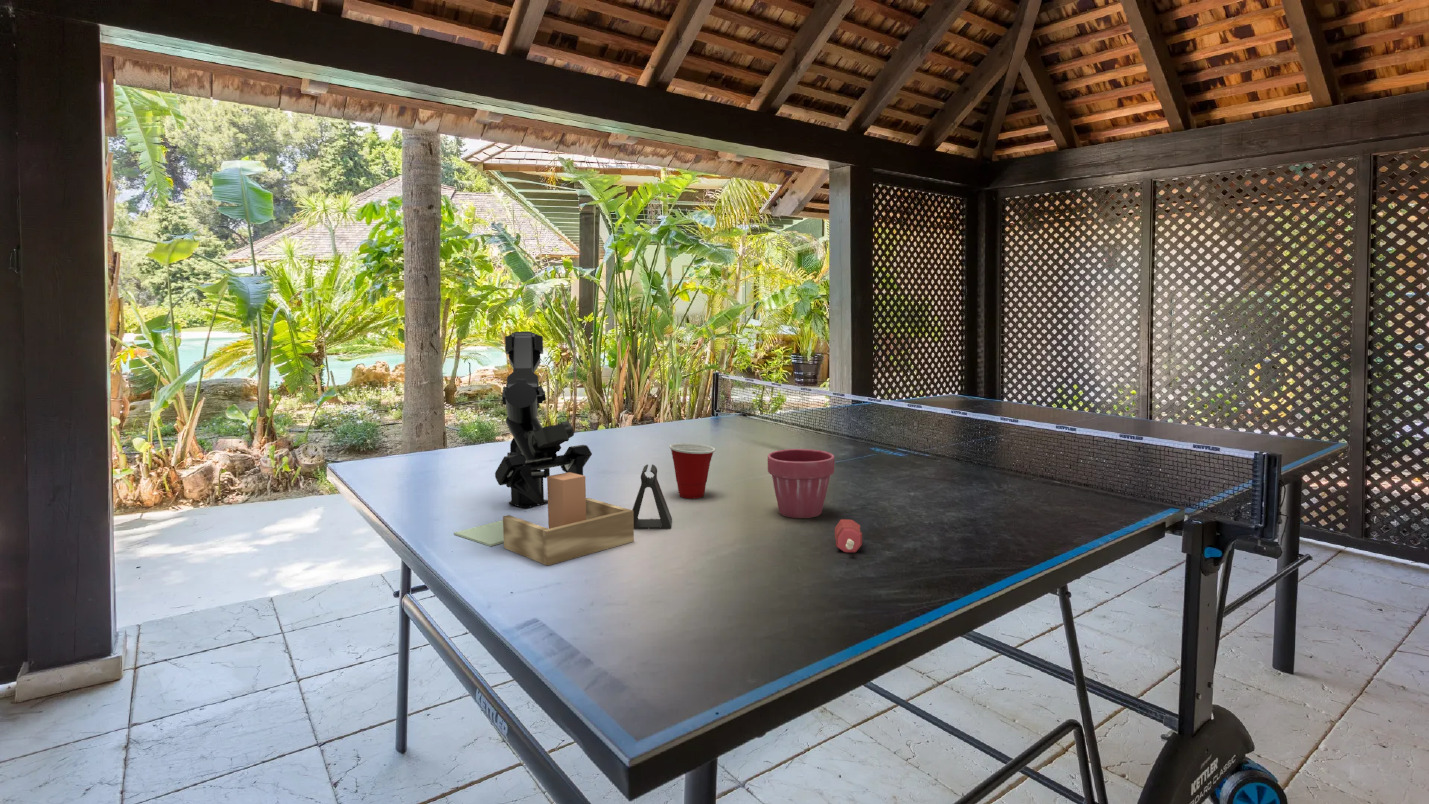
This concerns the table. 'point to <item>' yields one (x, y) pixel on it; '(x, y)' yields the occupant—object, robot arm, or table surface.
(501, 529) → the mat
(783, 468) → the plant pot
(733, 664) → the table surface
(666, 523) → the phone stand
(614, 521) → the u-shaped frame
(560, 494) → the block
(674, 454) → the plastic cup
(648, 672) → the table surface
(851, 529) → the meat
